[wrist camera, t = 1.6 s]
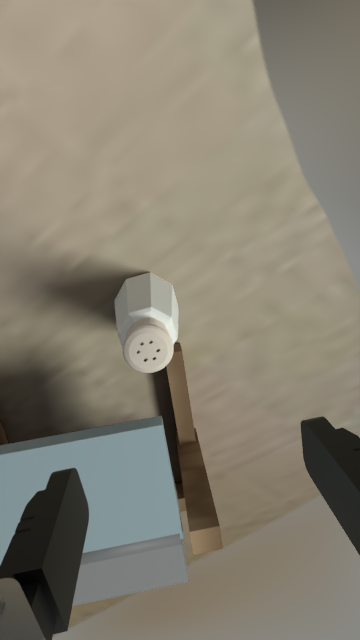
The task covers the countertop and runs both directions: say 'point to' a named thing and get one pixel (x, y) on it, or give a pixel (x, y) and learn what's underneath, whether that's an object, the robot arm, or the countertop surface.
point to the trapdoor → (106, 504)
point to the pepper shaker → (147, 322)
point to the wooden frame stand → (187, 464)
